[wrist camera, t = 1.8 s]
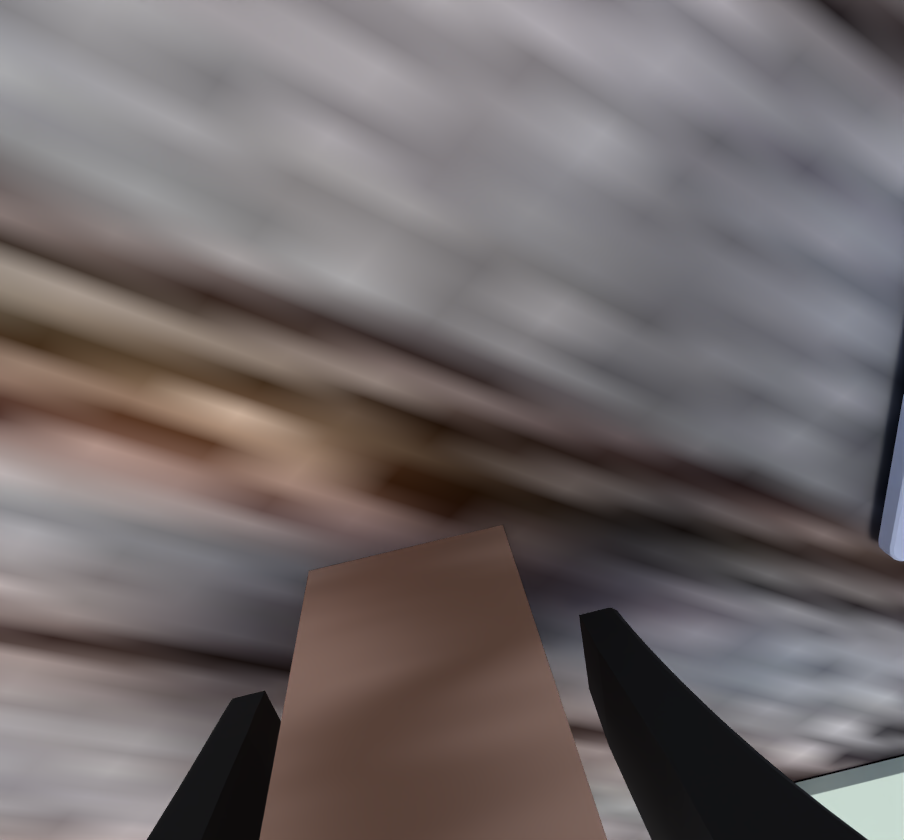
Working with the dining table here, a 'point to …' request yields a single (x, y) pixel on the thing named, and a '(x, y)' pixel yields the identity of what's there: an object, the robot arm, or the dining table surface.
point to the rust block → (425, 706)
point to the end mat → (865, 798)
